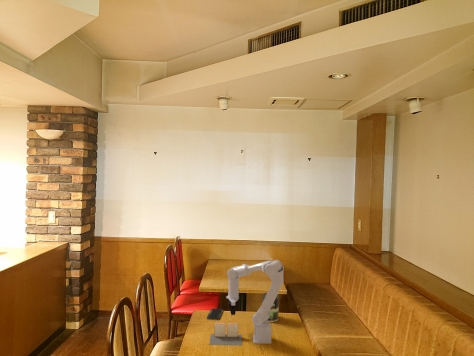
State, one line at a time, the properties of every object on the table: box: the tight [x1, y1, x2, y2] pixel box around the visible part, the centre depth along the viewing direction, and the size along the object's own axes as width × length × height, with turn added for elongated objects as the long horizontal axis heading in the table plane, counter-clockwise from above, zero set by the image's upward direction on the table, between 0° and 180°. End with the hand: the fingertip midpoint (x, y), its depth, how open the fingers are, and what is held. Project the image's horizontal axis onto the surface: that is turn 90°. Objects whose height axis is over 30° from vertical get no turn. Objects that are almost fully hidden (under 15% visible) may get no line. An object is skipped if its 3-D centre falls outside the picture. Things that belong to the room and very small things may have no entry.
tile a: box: [226, 322, 239, 337], centre depth 180 cm, size 6×1×7 cm, turn 91°
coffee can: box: [261, 292, 280, 323], centre depth 204 cm, size 10×10×14 cm
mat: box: [208, 333, 243, 346], centre depth 177 cm, size 17×11×1 cm, turn 91°
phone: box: [206, 308, 224, 321], centre depth 207 cm, size 8×1×15 cm
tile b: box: [213, 322, 227, 337], centre depth 180 cm, size 6×1×7 cm, turn 91°
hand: (233, 312), depth 187 cm, fingers open, 4 cm apart
